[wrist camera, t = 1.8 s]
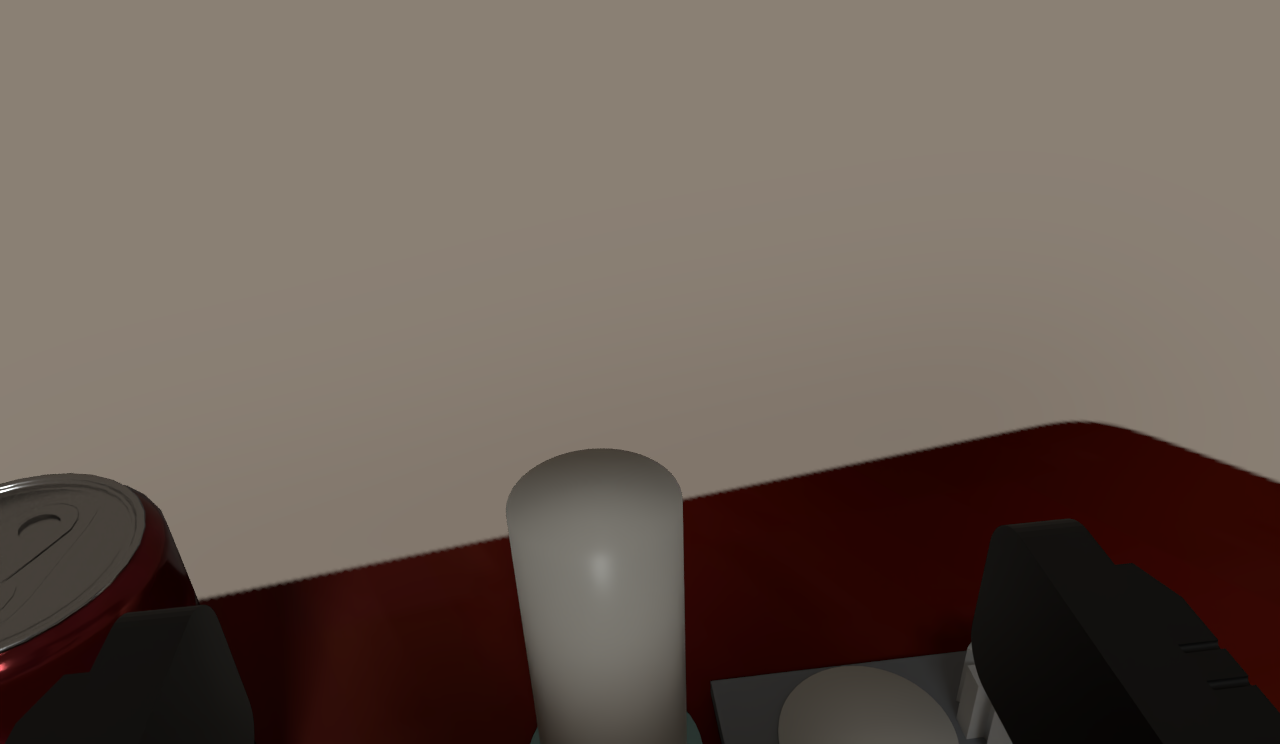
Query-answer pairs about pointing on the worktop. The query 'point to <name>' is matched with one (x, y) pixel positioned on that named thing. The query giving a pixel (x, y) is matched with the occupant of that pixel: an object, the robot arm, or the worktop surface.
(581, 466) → the gray pillar
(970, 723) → the carrier plate
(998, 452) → the worktop surface
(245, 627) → the worktop surface
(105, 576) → the soda can
